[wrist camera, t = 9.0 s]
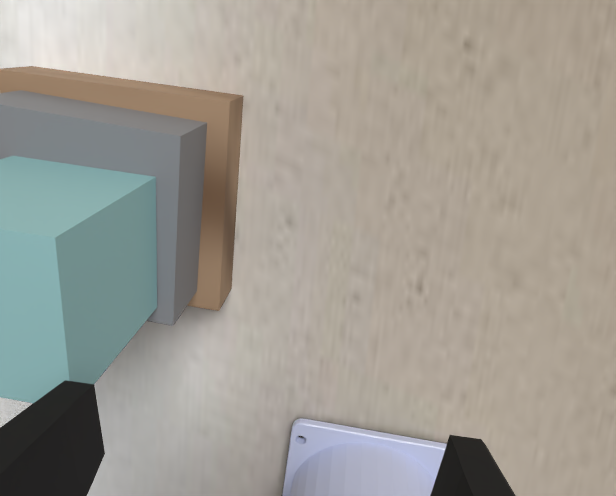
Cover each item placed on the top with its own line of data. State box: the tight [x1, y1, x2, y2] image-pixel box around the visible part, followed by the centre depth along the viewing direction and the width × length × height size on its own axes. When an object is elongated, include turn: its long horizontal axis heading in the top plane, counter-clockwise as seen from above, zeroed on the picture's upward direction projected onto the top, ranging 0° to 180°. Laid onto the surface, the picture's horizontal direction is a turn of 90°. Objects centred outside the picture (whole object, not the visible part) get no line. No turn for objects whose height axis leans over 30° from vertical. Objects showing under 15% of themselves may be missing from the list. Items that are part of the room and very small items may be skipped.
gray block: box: [0, 90, 207, 326], centre depth 16 cm, size 6×6×2 cm
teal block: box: [0, 156, 157, 403], centre depth 13 cm, size 4×4×5 cm
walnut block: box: [0, 66, 243, 311], centre depth 19 cm, size 8×8×2 cm
